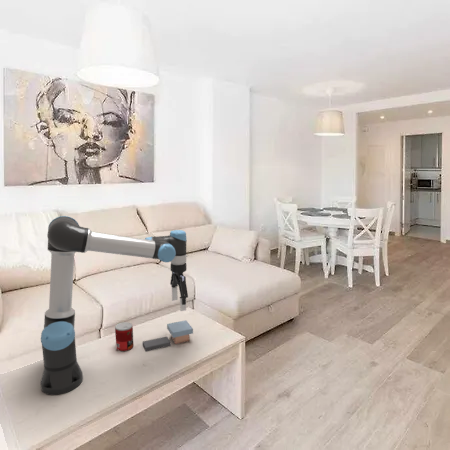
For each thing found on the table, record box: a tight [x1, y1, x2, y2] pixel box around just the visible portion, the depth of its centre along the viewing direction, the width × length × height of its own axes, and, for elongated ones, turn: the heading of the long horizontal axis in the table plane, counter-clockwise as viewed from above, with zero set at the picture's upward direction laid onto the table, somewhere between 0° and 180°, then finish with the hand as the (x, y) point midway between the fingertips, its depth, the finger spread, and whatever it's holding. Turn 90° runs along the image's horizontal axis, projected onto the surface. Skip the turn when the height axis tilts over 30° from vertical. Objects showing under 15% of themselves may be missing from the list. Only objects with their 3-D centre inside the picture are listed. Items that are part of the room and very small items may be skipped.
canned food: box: [114, 321, 134, 352], centre depth 164 cm, size 8×8×11 cm
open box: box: [170, 334, 190, 345], centre depth 171 cm, size 7×7×4 cm
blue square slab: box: [166, 320, 194, 338], centre depth 171 cm, size 10×10×2 cm
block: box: [142, 336, 172, 352], centre depth 166 cm, size 12×6×2 cm, turn 115°
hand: (178, 305), depth 168 cm, fingers open, 13 cm apart
